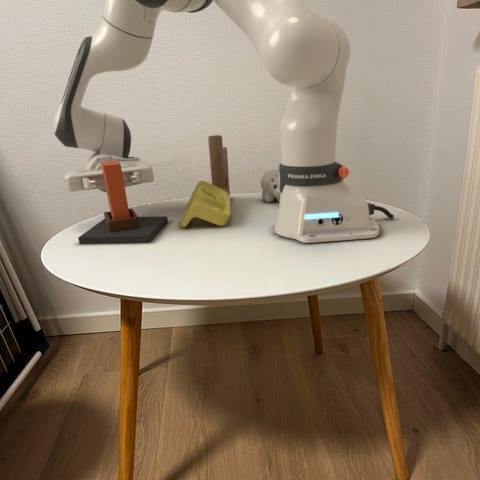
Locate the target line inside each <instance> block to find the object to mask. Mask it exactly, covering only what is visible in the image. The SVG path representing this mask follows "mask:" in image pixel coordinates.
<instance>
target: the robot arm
mask: <svg viewBox="0 0 480 480" xmlns="http://www.w3.org/2000/svg"><path fill="white" fill-rule="evenodd" d="M213 2H214V3H215V4H216V5H217V6H218V7H219V9H221V11H222V12H223V13H224V14H225V15H226V16H227V17H228V18H229V19H230V20H231V21H232V22H233V23H234V24H235V25H236V26H237V27H238V28H239V29H240V30H241V31H242V32H243V33H244V35H245V36H246V37H247V38H248V39H249V41H250V43H251V44H252V45H253V47H254V48H255V50H256V52H257V53H258V55H259V57H261V59H262V61H263V65H264V67H265V70H266V71H267V73H268V74H269V75H270V77H272V78H273V79H274V80H276V82H278V83H280V84H282V85H284V86H287V87H289V91H288V98H287V103H286V106H285V107H286V108H285V110H284V114H283V116H282V118H281V122H280V164H279V166H278V170H279V175H278V177H279V191H280V202H279V205H278V211H277V217H276V221H275V225H274V229H273V231H274V233H276V234H277V235H278V236H281V237H284V238H288V239H293V240H296V241H298V242H300V243H304V244H313V243H326V242H327V243H329V242H339V241H340V242H341V241H350V240H351V241H352V240H364V239H375V238H376V237H378V236H379V234H380V226H379V223H378V222H377V220H375V219H373V218H371V217H370V216H372V215H375V211H379V212H381V213H383V214H384V215H385V216H386V217H387V218H388V219H394V218H395V216H394V214H393V213H391V212H390V211H389V210H388V209H386V208H385V207H383V206H380V205H376V204H374V203H370V202H368V201H367V200H366V198H365V197H364V196H363V195H362V194H360V192H358V190H356V189H355V188H354V187H353V186H351V185H350V184H349V183H347V182H346V181H345V179H346V178H348V176H349V175H350V170H349V168H348V167H347V166H345V165H343V164H342V163H340V162H338V161H336V155H337V154H336V153H337V134H338V131H337V130H338V121H339V113H340V107H341V103H342V97H343V93H344V86H345V81H346V75H347V69H348V68H347V67H348V65H349V62H350V59H351V53H352V50H351V43H350V39H349V38H348V35H347V33H346V31H345V30H344V29H343V28H342V26H341V25H339V24H338V23H337V22H335V21H332V20H330V19H326V18H322V17H320V16H319V15H317V14H316V13H314V12H313V11H312V10H311V8H309V7H308V6H307V5H306V3H304V2H303V0H105V2H104V6H103V11H102V18H101V21H100V23H99V26H98V28H97V30H96V31H95V32H94V33H93V34H92V35H90V36H85V37H84V39H83V40H82V42H81V43H80V46H79V48H78V50H77V53H76V56H75V59H74V62H73V65H72V68H71V72H70V75H69V76H68V77H69V78H68V81H67V83H66V87H65V89H64V93H63V96H62V99H61V101H60V104H59V107H58V109H57V110H56V112H55V115H54V118H53V134H54V136H55V137H56V139H57V140H58V141H59V142H60V143H61V144H62V145H63V146H64V147H65V148H67V147H68V148H74V149H81V150H86V151H90V152H91V153H90V154H89V155H88V156H87V158H86V160H85V169H82V170H74V171H73V170H72V171H68V172H67V173H65V175H64V178H63V182H64V183H65V184H66V188H67V191H68V192H71V193H74V192H82V191H89V190H98V191H99V192H102V193H107V191H106V186H105V181H104V176H103V171H102V166H101V162H107V161H116V160H117V161H118V162H119V163H120V164H121V169H122V175H123V180H124V186H125V188H127V187H132V186H138V185H141V184H146V183H147V184H148V183H152V182H154V180H155V179H154V172H153V167H152V165H151V164H149V163H148V162H146V161H143V160H141V159H140V157H138V156H130V152H131V147H132V133H131V130H130V127H129V126H128V124H127V122H126V121H125V119H124V118H123V117H119V116H115V115H113V114H107V113H105V112H104V113H103V112H100V111H97V110H94V109H93V110H92V109H89V108H86V107H83V106H82V102H83V100H84V97H85V94H86V91H87V88H88V86H89V83H90V81H91V79H92V78H93V77H95V76H97V75H100V74H103V73H109V72H110V73H111V72H125V71H129V70H130V71H131V70H134V69H135V68H138V67H139V66H141V65H142V64H143V63H144V62H145V61H146V60H147V58H148V56H149V53H150V50H151V47H152V44H153V39H154V35H155V31H156V24H157V21H158V17H159V16H160V14H161V12H162V11H165V12H171V13H189V14H195V13H198V12H202V11H204V10H206V9H207V8H208V7H209V6H210V5H211V4H212V3H213Z"/></svg>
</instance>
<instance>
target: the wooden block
mask: <svg viewBox="0 0 480 480" xmlns="http://www.w3.org/2000/svg"><path fill="white" fill-rule="evenodd" d="M207 141H208V153H209V164H210V166H209V167H210V177H211V184H213V185H215V186H216V187H219V188H221V189H223V190H224V191H226V192H227V193H228V194H229V195H230V196H231V192H230V179H229V177H230V176H229V161H228V147H226V146H223V136H222V135H219V134H215V135H214V134H213V135H209V136H208V137H207Z"/></svg>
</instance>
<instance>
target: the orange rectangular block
mask: <svg viewBox="0 0 480 480" xmlns="http://www.w3.org/2000/svg"><path fill="white" fill-rule="evenodd" d="M101 166H102V171H103V176H104V181H105V186H106V191H107V192H106V195H107V200H108V205H109V212H110V211H111V216H112V220H116V219H122V218H129V217H130V214H129V209H130V208H129V204H128V199H127V192H126V187H125V186H124V180H123V175H122V169H121V164H120V163H119V162H118V161H117V160H116V161H107V162H101Z"/></svg>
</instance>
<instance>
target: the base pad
mask: <svg viewBox="0 0 480 480" xmlns="http://www.w3.org/2000/svg"><path fill="white" fill-rule="evenodd" d="M128 209H129V214H130V217H129V218H122V219H116V220H112V216H111V211H110V210H109V211H104V212H103V216H104V219H102V220H101V221H99V222H97V223H96V224H95V225H93V226H92V227H91V228H89V229H88V230H86V231H85V232H84V233H82V234H81V235H80V236H78V237H77V238H78V243H79V244H80V245H99V244H101V245H103V244H104V245H105V244H106V245H107V244H150V243H151V241H152V240H153V239H154V238H155V237H156V236H157V235H158V234H159V232H161V230H163V228H164V227H165V226H166V225H167V224H168V222H169V219H168V216H167V215H163V216H162V215H161V216H157V215H156V216H139V215H138V214H137V213H136V212H135V211H134V209H133V208H131V207H130V208H128Z"/></svg>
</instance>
